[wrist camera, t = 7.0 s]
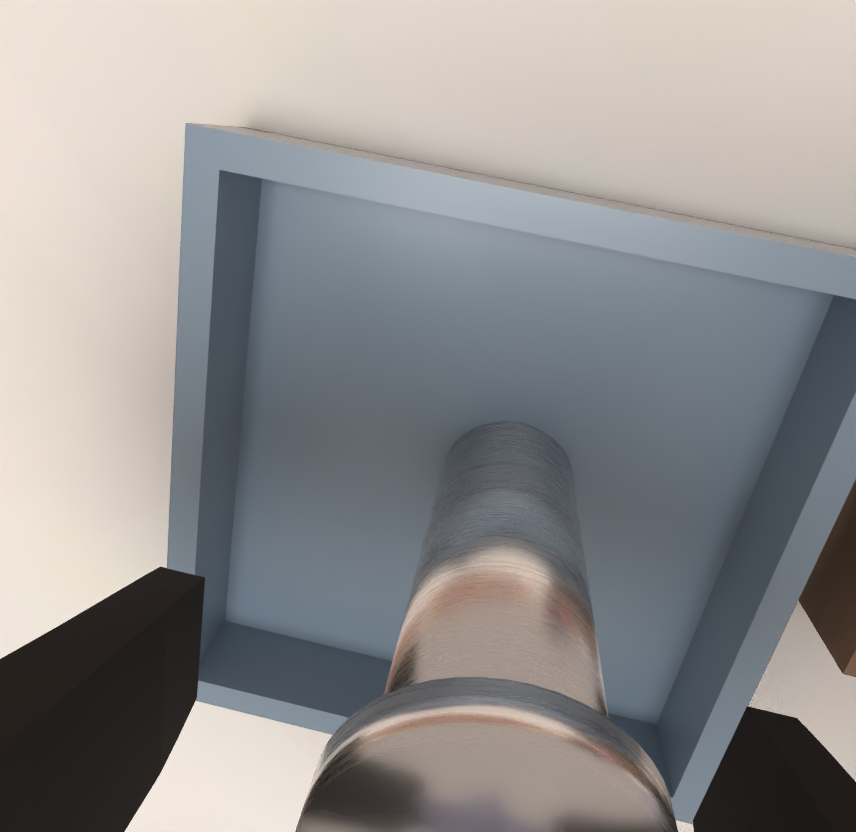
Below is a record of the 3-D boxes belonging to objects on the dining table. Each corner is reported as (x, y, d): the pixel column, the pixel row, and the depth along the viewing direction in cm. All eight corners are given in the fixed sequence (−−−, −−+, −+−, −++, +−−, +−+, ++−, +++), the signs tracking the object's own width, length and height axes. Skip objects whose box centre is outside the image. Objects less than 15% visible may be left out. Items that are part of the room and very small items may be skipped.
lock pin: (620, 421, 14) (755, 810, 6) (569, 575, 15) (620, 1057, 7) (437, 379, 14) (318, 696, 6) (404, 535, 16) (270, 962, 7)
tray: (873, 252, 13) (951, 276, 10) (669, 732, 17) (691, 824, 15) (244, 127, 13) (185, 123, 11) (209, 621, 18) (161, 692, 16)
